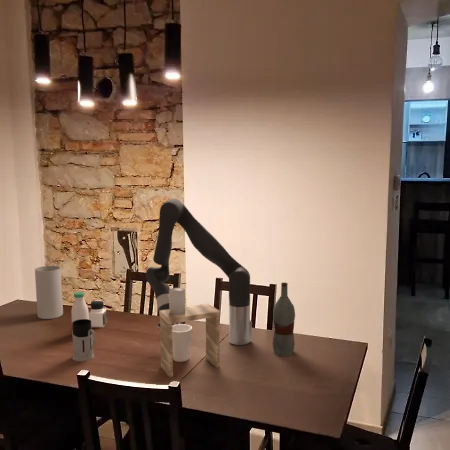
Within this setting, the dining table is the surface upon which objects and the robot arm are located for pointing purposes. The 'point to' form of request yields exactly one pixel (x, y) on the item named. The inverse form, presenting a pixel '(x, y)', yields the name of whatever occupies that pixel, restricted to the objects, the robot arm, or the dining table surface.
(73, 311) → the milk bottle
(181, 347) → the foam cup
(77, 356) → the glass holder
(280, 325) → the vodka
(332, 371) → the dining table surface
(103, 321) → the medicine bottle
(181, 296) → the beige upright cylinder
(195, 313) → the beige hollow frame
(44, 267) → the cylinder vase
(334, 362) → the dining table surface
